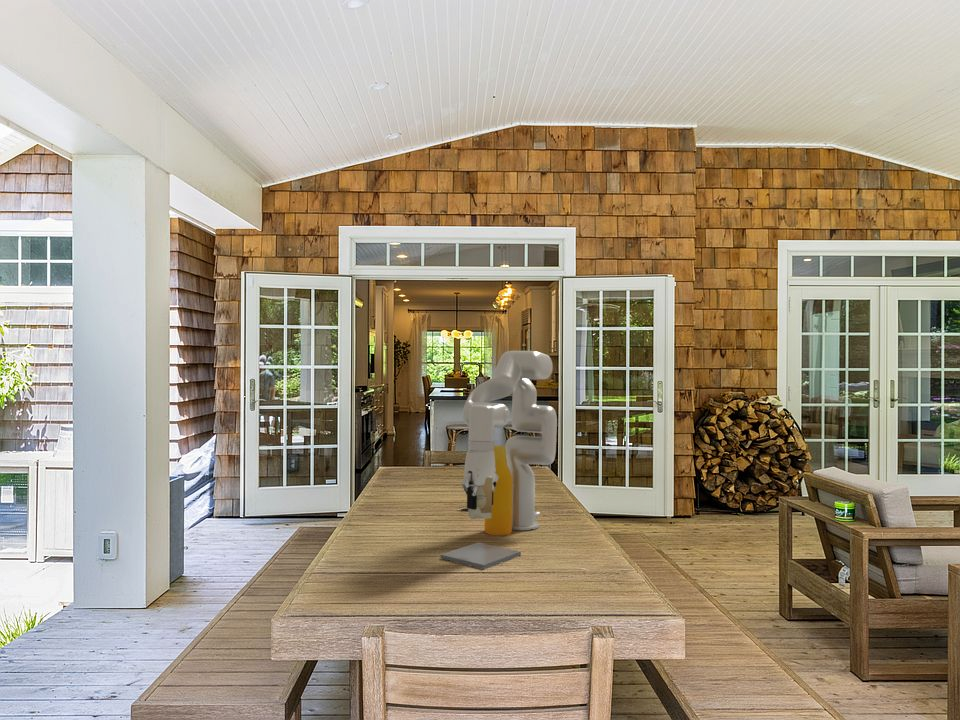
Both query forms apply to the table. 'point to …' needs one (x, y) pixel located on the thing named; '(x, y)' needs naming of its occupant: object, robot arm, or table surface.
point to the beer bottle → (501, 497)
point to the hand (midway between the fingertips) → (480, 506)
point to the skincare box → (483, 501)
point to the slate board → (480, 555)
